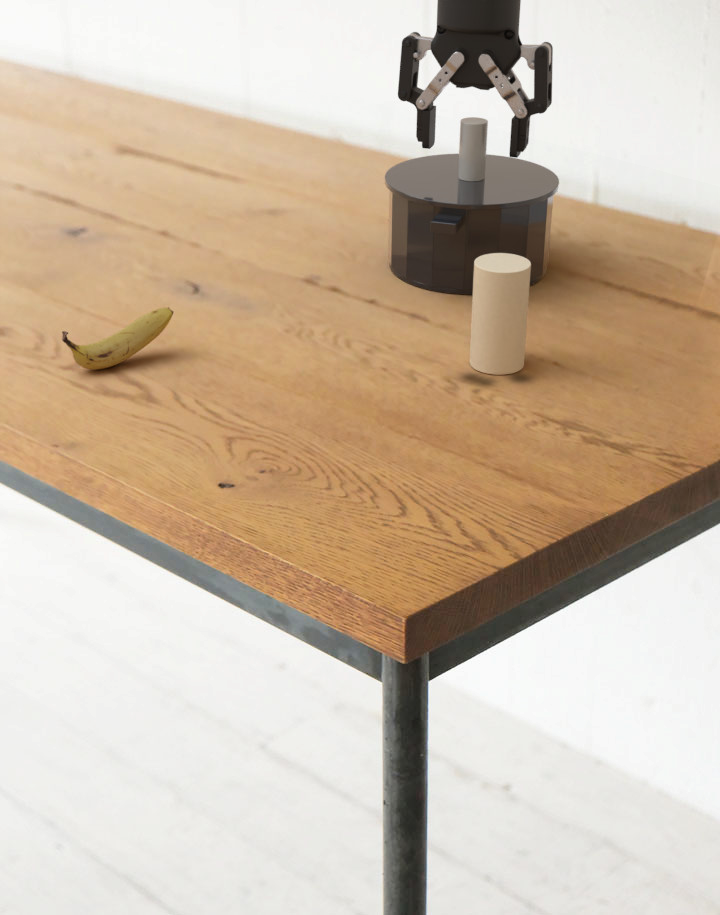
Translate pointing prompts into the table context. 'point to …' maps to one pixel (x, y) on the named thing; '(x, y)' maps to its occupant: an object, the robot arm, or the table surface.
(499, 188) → the lid
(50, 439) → the table surface
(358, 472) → the table surface
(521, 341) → the beige wooden cylinder
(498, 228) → the pot
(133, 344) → the banana
